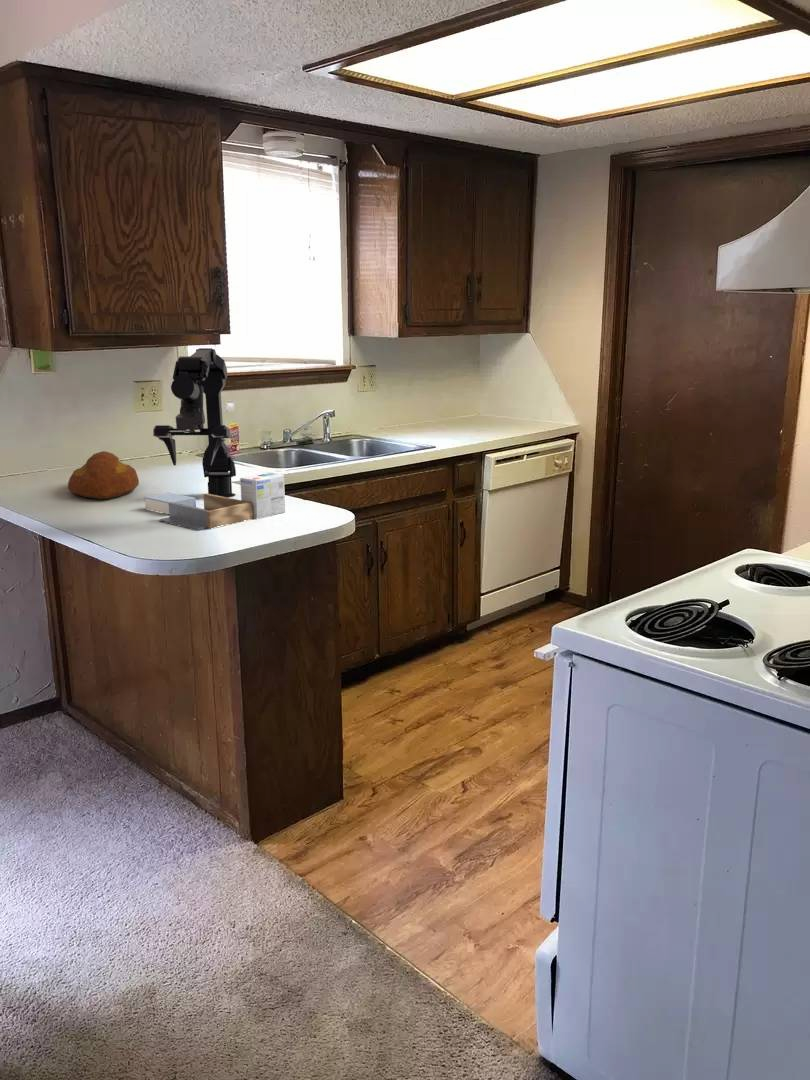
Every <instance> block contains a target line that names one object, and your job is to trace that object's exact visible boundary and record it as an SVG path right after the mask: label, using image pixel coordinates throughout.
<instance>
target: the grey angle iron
mask: <svg viewBox="0 0 810 1080" xmlns="http://www.w3.org/2000/svg"><path fill="white" fill-rule="evenodd" d="M168 504H169V515H168V516H169V517H163V518H160V519H159V522H161V521H163V522H162V523H165V522H167V523H166V524H169V523H172V524H171V525H173V524H176V525H175V526H177V525H180V526H179V527H182V526H184V527H183V528H186V527H188V528H187V529H190V528H192V529H191V530H194V529H196V530H195V531H198V530H199V531H201V530H200V529H203V530H205V529H204V528H207V529H208V526H207V511H210V510H206V509H204V508H201V507H197V506H196V507H192V506H187V505H183V504H178V503H174V502H171V503H168Z"/></svg>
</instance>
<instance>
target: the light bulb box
mask: <svg viewBox="0 0 810 1080" xmlns="http://www.w3.org/2000/svg"><path fill="white" fill-rule="evenodd" d="M239 480H240V482H239V484H240V500H242V501H247V502H252V503H253V519H255V518H258V519H261V518H262V519H263V518H266V517H271V516H274V515H279V514H283V513H286V499H285V498H286V495H285V475H284V474H280V473H274V472H264V473H260V474H253V475H249V476H245V477H239Z"/></svg>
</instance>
